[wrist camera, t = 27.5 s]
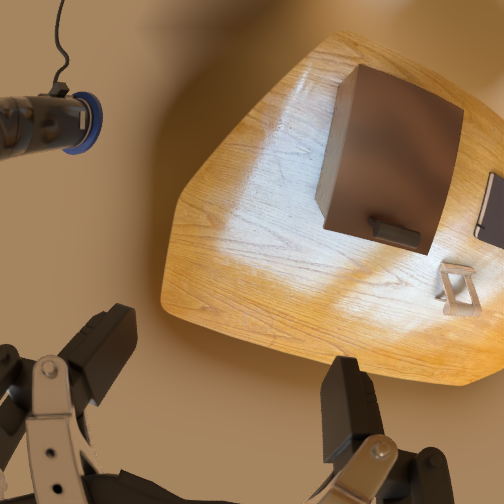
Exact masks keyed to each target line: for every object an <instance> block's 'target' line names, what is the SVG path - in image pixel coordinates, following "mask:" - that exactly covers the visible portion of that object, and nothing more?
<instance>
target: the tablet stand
mask: <svg viewBox="0 0 504 504" xmlns="http://www.w3.org/2000/svg"><path fill="white" fill-rule="evenodd" d="M438 271H439V274H440V277H441V280H442V284H443V287H444V290H445V293H446V297H447V299H446V300H445V299H440V298H435V300H439V301H443V302H446V304H445V305H444V308H443V312H444V315H449V316H468V317H479V316H480V315H481V312H482V309H481V305H480V302H479V299H478V296H477V293H476V290H475V288H474V285H473V282H472V279H471V275H472V273H476V271H475V270H474V269H473V268H469V267H463V266H458V265H452V264H446V263H440V264H439V267H438ZM448 273H452V274H458V275H463V276H464V279H465V282H466V285H467V287H468V290H469V293H470V296H471V299H472V304H467V303H463V302H459V301H456V299H455V296H454V293H453V289H452V286H451V283H450V280H449V277H448Z"/></svg>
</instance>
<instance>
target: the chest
mask: <svg viewBox="0 0 504 504" xmlns="http://www.w3.org/2000/svg"><path fill="white" fill-rule="evenodd" d="M356 72H357V67H356V68H355V69H354V70H353V71H352V72H351V73H350V74H349V75H348V76H347V78H346V79H345V80H344V81H343V82H342V83H341V84H340V85H339V86H338V91H337V96H336V101H335V107H334V112H333V117H332V122H331V127H330V132H329V137H328V141H327V146H326V151H325V155H324V160H323V165H322V169H321V173H320V178H319V182H318V186H317V191H316V195H315V200H316V202H317V204H318V206H319V208H320V210H321V212H322V214H323V216H324V218H325V217H326V213H327V209H328V205H329V201H330V197H331V193H332V189H333V185H334V181H335V177H336V173H337V168H338V164H339V160H340V155H341V151H342V146H343V141H344V137H345V132H346V127H347V122H348V117H349V112H350V106H351V101H352V95H353V90H354V84H355V78H356Z"/></svg>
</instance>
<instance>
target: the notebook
mask: <svg viewBox="0 0 504 504" xmlns="http://www.w3.org/2000/svg"><path fill="white" fill-rule="evenodd" d="M474 236H475V237H476V238H478V239H479V240H481V241H484V242H486V243H489V244H492V245H494V246H497V247H499V248H502V249H504V179H503V178H501V177H500V176H498V175H496V174H495V173H491V172H490V174H489V179H488V183H487V188H486V192H485V196H484V200H483V204H482V207H481V211H480V214H479V218H478V221H477V224H476V228H475V231H474Z"/></svg>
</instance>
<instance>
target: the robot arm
mask: <svg viewBox="0 0 504 504" xmlns="http://www.w3.org/2000/svg"><path fill="white" fill-rule="evenodd" d="M63 4H64V0H62V1H61V3H60V7H59V10H58V14H57V19H56V26H55V43H56V46H57V48H58V50H59V51H60V52H61V53H62V54H63V56H64V57H65V60H66V62H65V65H64V66H63V67H61V68H60V69H59V70H58V71H57V73H56V75H55V77H54V81H53V87H52V89H51V90H50V92H49V93H48V94H39V95H38V96H13V97H12V96H10V97H0V161H4V160H9V159H13V158H17V157H22V156H26V155H32V154H37V153H42V152H48V151H54V150H60V149H67V148H77V147H79V146H81V145H82V144H83V143H84V142H85V141H86V140H87V139H88V137H89V135H90V133H91V130H92V127H93V121H94V115H93V110H92V107H91V105H90V103H89V102H88V101H87V100H85V99H82V98H77V97H76V96H73V95H66V94H67V93H68V92H69V88H68V87H67V85H66V83H63V82H57V80H58V77H59V74H60V73H61V71H63V70H64V69H65V68H66V67H67V66H68V65H69V56H68V55H67V53H66V52H65V51H64V50H63V49H62V47H61V46H60V43H59V38H58V27H59V21H60V15H61V10H62V7H63ZM135 313H136V312H135V309H134V308H131V307H128V306H124V305H122V304H119V303H116V304H115V305H114V306H113V307H112V308H111V309H110V310H109V311H108V312H104V311H103V312H101V313H99V314H97V315H95V316H93V317H92V318H91V319H90V320H89V321H88V322H87V323H86V325H85V326H84V327H83V328H82V329H81V330H80V332H78V333H77V334H76V335H75V336H74V337H73V338H72V340H71V341H70V342H69V343H68V344H67V345H66V346H65V347H64V348H63V350H62V351H61V352H60V353H59V354H58V355H57V356H55V355H47V356H44V357H41V358H40V359H39V360H38V361H34V360H30V359H25V358H22V357H20V356H19V353H18V351H17V349H16V348H15V347H14V346H12V345H9V344H3V345H0V400H1V398H2V397H3V396H4V394H5V392H6V391H7V392H8V394H9V395H8V396H7V398H6V399H5V400H4V402H3V403H2V405H1V406H0V504H238V503H232V502H227V501H199V500H198V501H197V500H185V499H182V498H180V497H178V496H176V495H175V494H173V493H171V492H169V491H167V490H166V489H164V488H162V487H160V486H159V485H157V484H155V483H154V482H152V481H149V480H146V479H143V478H141V477H139V476H136V475H134V474H131V473H129V472H126V471H124V470H122V469H121V471H120V473H119V475H117V474H103V471H102V468H101V465H100V462H99V460H98V458H97V456H96V453H95V450H94V447H93V443H92V438H91V434H90V429H89V424H88V419H87V414H86V409H85V408H86V406H87V405H88V403H91V404H93V405H95V406H97V407H98V406H99V405H100V403H101V401H102V400H103V398H104V397H105V395H106V394H107V392H108V390H109V389H110V387H111V386H112V384H113V382H114V381H115V379H116V378H117V376H118V375H119V373H120V371H121V370H122V368H123V367H124V365H125V364H126V362H127V361H128V359H129V358H130V356H131V355H132V353H133V351H134V350H135V348H136V344H137V339H138V337H137V325H136V314H135ZM320 393H321V394H320V396H321V412H322V432H323V462H324V463H333V467H334V470H333V471H332V472H331V473H330V474H329V475H328V476H327V477H326V479H325V480H324V481H323V482H322V483H321V484H320V485H319V486H318V487H317V488H316V490H315V491H314V492H313V493H312V494H311V495H310V496H309V497H308V498H307V499H306V500H305V501H304V502H303V503H302V504H371V501H372V500H373V498H374V497H376V504H454V497H453V491H452V485H451V479H450V474H449V469H448V465H447V460H446V457H445V455H444V454H443V452H441V451H440V450H439V449H437V448H435V447H427V448H425V449H423V450H422V451H421V452H419V453H418V454H417V453H412V452H408V451H403V450H400V449H398V448H397V446H396V444H395V443H394V441H393V440H392V439H391V438H389V437H387V436H385V434H384V429H383V424H382V420H381V416H380V411H379V406H378V403H377V399H376V395H375V390H374V386H373V382H372V380H371V379H370V378H369V376H368V375H367V373H366V372H363V371H360V370H359V366H358V361H357V359H356V358H353V357H345V356H336V358H335V359H334V361H333V363H332V365H331V367H330V369H329V371H328V373H327V375H326V377H325V379H324V381H323V383H322V386H321V392H320ZM25 432H26V438H27V449H28V458H29V466H30V472H31V478H32V483H33V488H34V493H31V494H27V495H23V496H19V497H15V498H10V499H4V495H3V492H4V491H6V490H7V483H6V482H5V477H4V474H3V472H4V470H5V468H6V466H7V464H8V462H9V460H10V458H11V456H12V455H13V453H14V451H15V449H16V447H17V446H18V444H19V442H20V440H21V439H22V437H23V435H24V433H25Z"/></svg>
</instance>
